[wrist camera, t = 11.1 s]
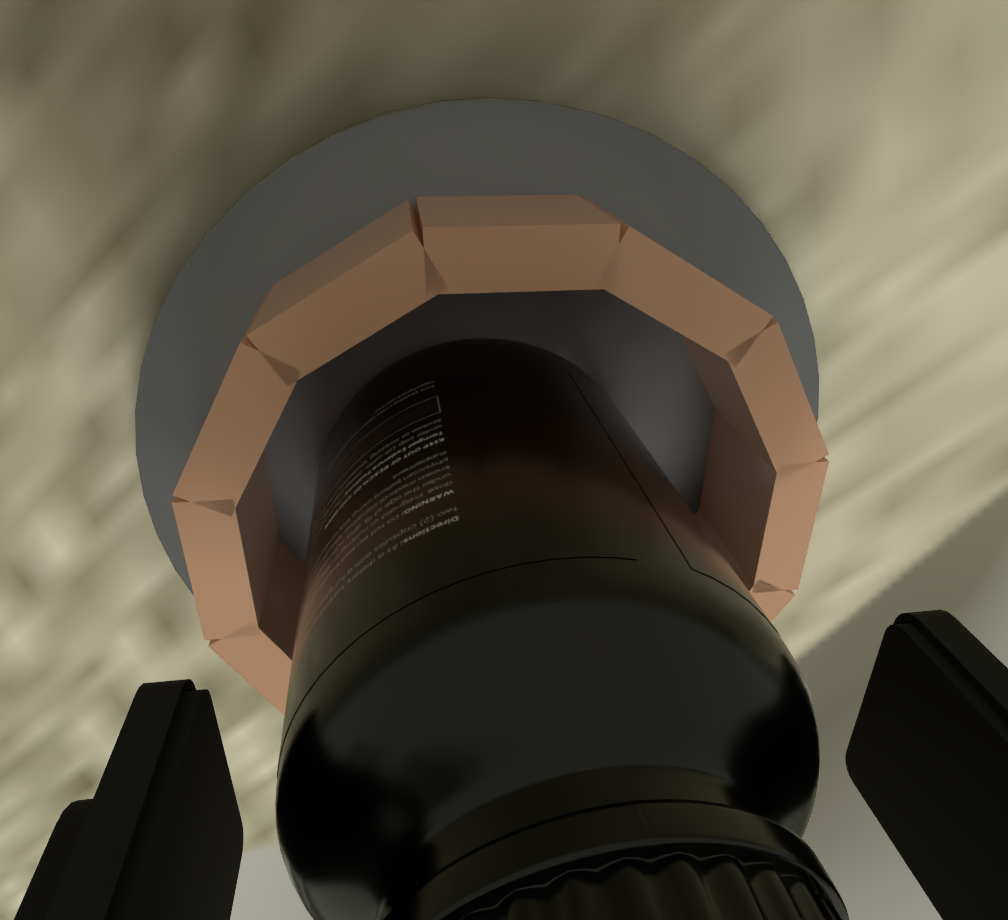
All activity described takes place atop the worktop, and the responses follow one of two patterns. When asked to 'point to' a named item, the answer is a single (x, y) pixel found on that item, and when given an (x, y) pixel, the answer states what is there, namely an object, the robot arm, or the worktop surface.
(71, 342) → the worktop surface
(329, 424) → the bottle holder
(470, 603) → the supplement bottle
